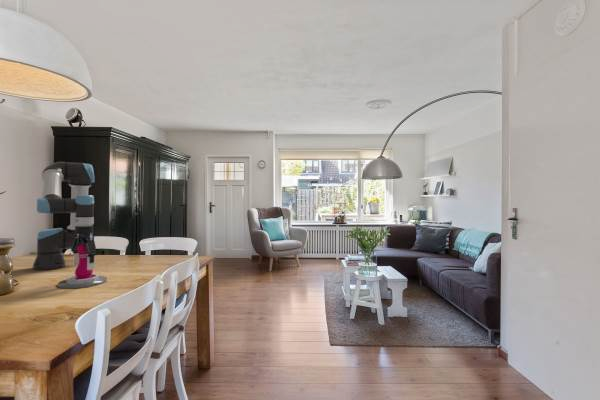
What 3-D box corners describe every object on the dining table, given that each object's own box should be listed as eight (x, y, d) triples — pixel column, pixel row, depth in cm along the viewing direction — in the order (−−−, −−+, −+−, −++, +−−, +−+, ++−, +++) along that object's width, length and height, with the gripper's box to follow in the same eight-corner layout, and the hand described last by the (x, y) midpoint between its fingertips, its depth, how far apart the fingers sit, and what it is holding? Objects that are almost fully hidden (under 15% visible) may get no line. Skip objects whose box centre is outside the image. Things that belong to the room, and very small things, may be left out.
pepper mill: (93, 281, 148) (94, 241, 148) (75, 283, 144) (76, 242, 144) (91, 278, 154) (92, 239, 154) (74, 280, 149) (74, 240, 149)
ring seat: (62, 280, 153) (62, 274, 153) (108, 276, 162) (108, 270, 162) (52, 290, 135) (52, 284, 135) (105, 285, 145) (105, 279, 145)
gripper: (63, 224, 152) (62, 265, 152) (89, 227, 139) (88, 272, 139) (80, 223, 158) (79, 263, 158) (105, 226, 146) (105, 269, 146)
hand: (83, 267), depth 149 cm, fingers open, 13 cm apart
